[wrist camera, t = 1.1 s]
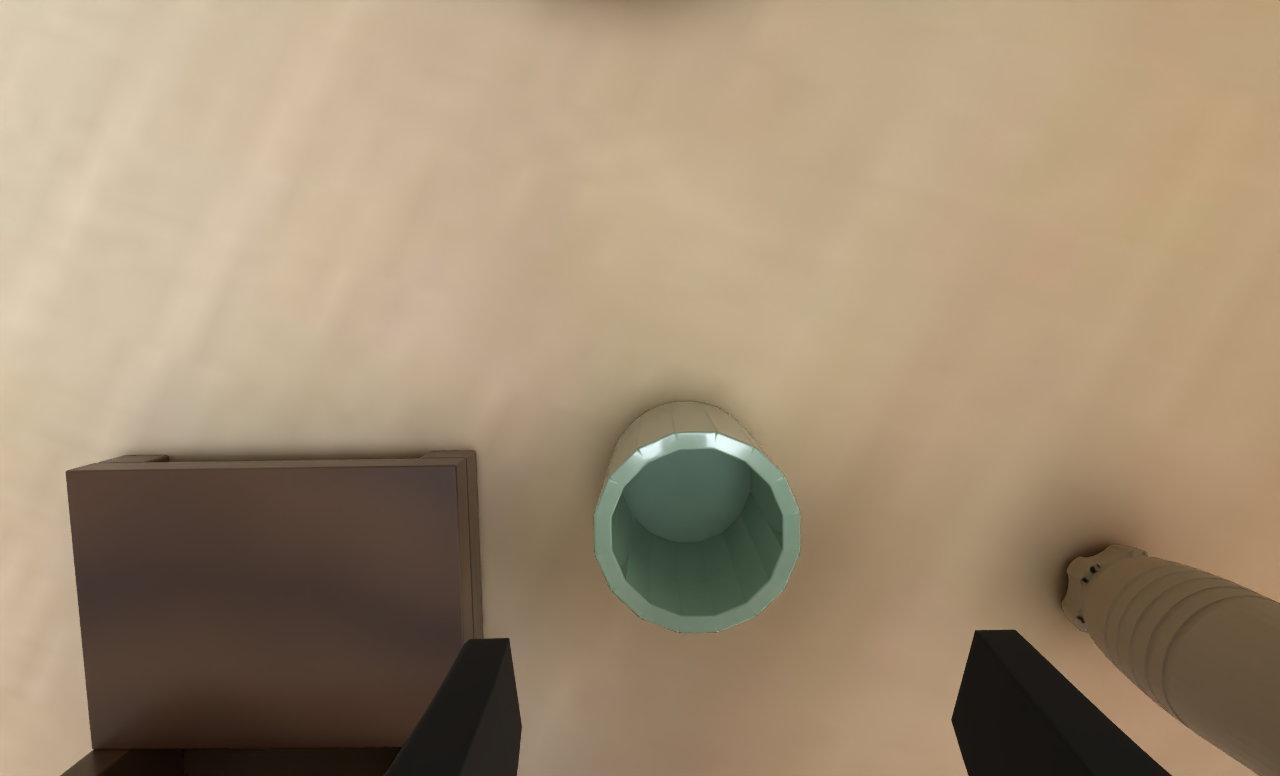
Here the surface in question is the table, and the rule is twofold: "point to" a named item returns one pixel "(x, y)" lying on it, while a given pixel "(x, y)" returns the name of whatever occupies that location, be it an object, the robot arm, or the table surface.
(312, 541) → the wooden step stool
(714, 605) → the pencil cup
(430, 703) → the robot arm
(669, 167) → the table surface
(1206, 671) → the handle
